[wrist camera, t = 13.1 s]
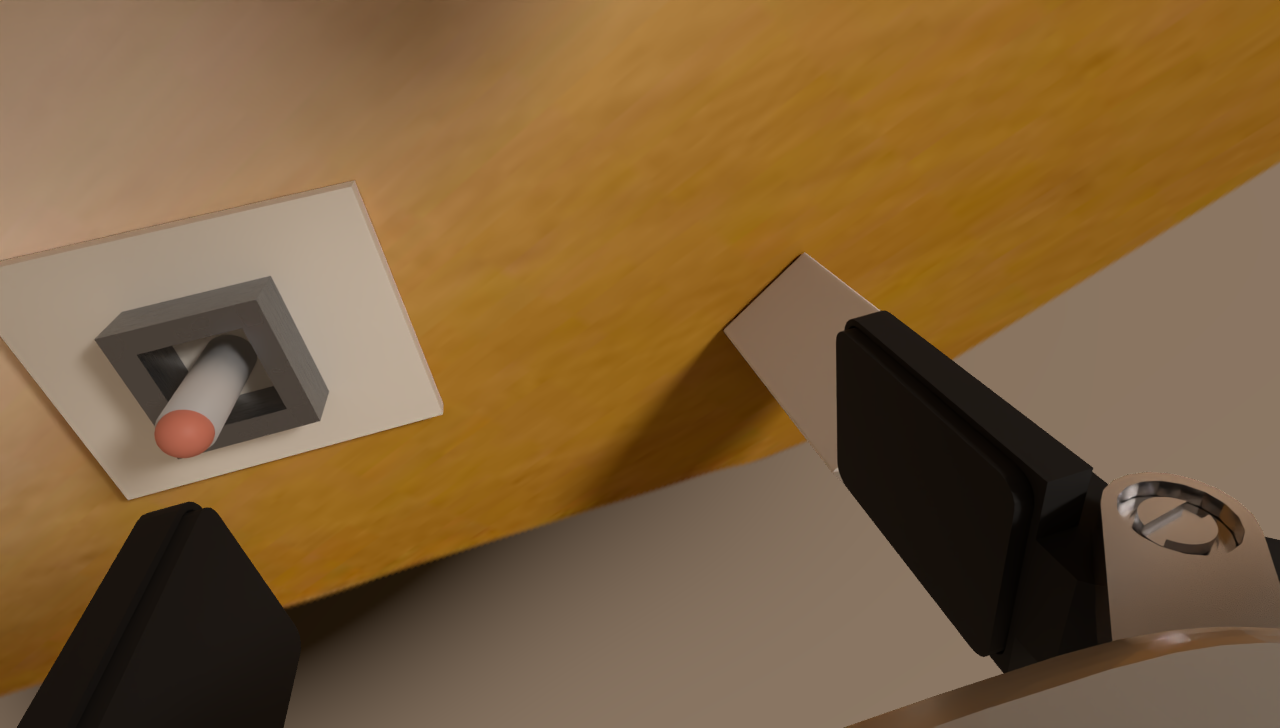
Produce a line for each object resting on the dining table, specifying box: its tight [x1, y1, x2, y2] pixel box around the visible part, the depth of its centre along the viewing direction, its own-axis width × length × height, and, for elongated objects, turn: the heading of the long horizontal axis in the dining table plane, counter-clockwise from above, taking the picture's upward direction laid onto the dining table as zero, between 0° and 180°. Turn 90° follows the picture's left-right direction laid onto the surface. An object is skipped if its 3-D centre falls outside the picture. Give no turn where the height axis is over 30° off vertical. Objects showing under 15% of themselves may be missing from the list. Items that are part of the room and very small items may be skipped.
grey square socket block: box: [94, 276, 329, 459], centre depth 34 cm, size 7×7×3 cm
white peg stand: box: [0, 180, 443, 500], centre depth 32 cm, size 14×18×10 cm
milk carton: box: [724, 253, 880, 482], centre depth 36 cm, size 7×7×19 cm
